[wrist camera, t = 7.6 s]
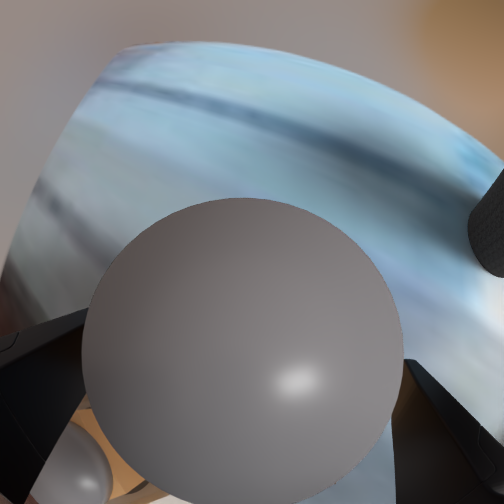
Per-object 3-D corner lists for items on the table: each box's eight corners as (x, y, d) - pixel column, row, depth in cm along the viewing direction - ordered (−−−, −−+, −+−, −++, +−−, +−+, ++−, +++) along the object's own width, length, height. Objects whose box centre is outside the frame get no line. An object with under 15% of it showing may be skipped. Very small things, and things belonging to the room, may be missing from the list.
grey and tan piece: (102, 496, 13) (49, 525, 8) (63, 429, 15) (0, 436, 9) (162, 472, 14) (119, 506, 9) (118, 400, 16) (59, 404, 10)
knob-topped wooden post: (293, 420, 15) (366, 524, 3) (202, 403, 16) (59, 449, 4) (310, 333, 17) (410, 226, 5) (222, 317, 18) (134, 182, 5)
